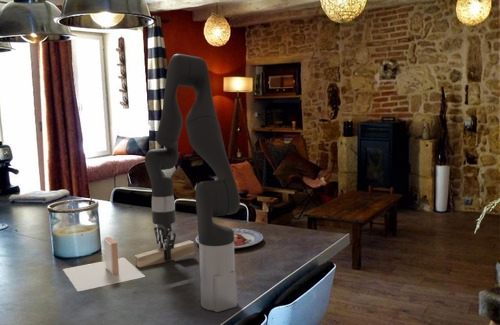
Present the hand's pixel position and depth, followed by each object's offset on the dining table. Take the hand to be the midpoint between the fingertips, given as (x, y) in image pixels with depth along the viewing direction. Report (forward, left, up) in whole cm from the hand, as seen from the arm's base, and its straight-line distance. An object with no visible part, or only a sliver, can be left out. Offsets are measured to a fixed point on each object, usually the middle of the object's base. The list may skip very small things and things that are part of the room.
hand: (165, 258), depth 159 cm
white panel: (0, +21, -1) cm, 21 cm away
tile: (0, +18, 0) cm, 18 cm away
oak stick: (0, 0, 0) cm, 0 cm away
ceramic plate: (+8, -29, -2) cm, 30 cm away
